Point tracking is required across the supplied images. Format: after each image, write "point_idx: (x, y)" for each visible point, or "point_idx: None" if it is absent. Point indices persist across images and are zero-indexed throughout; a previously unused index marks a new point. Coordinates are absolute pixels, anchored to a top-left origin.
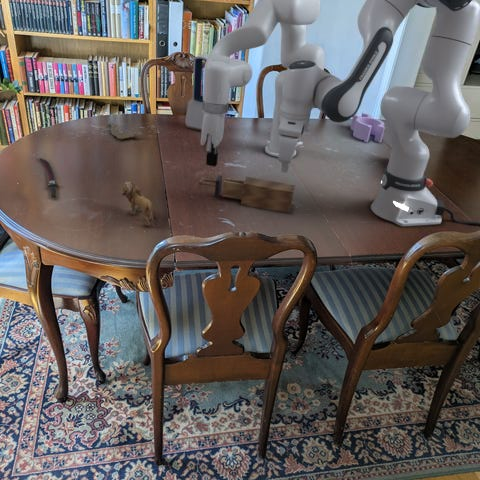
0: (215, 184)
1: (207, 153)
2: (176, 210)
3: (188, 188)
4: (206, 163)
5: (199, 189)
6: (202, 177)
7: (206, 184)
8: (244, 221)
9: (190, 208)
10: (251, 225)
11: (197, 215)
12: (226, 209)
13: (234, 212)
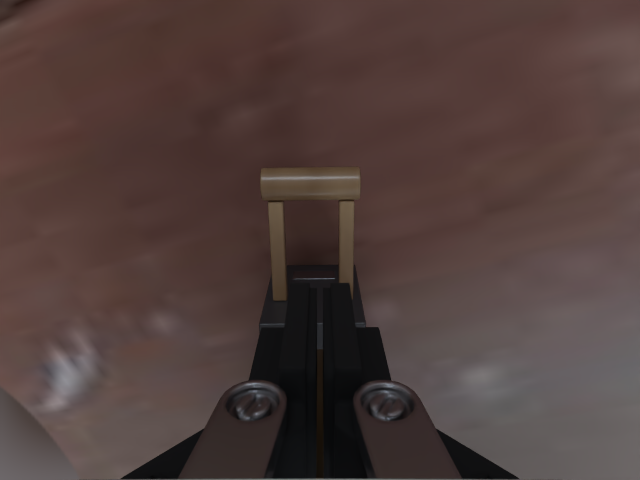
0: (282, 298)
1: (230, 397)
2: (17, 80)
3: (353, 53)
4: (290, 289)
5: (366, 134)
6: (349, 181)
7: (269, 232)
8: (116, 438)
9: (91, 158)
10: (99, 468)
11: (38, 221)
12: (187, 344)
13: (176, 384)
